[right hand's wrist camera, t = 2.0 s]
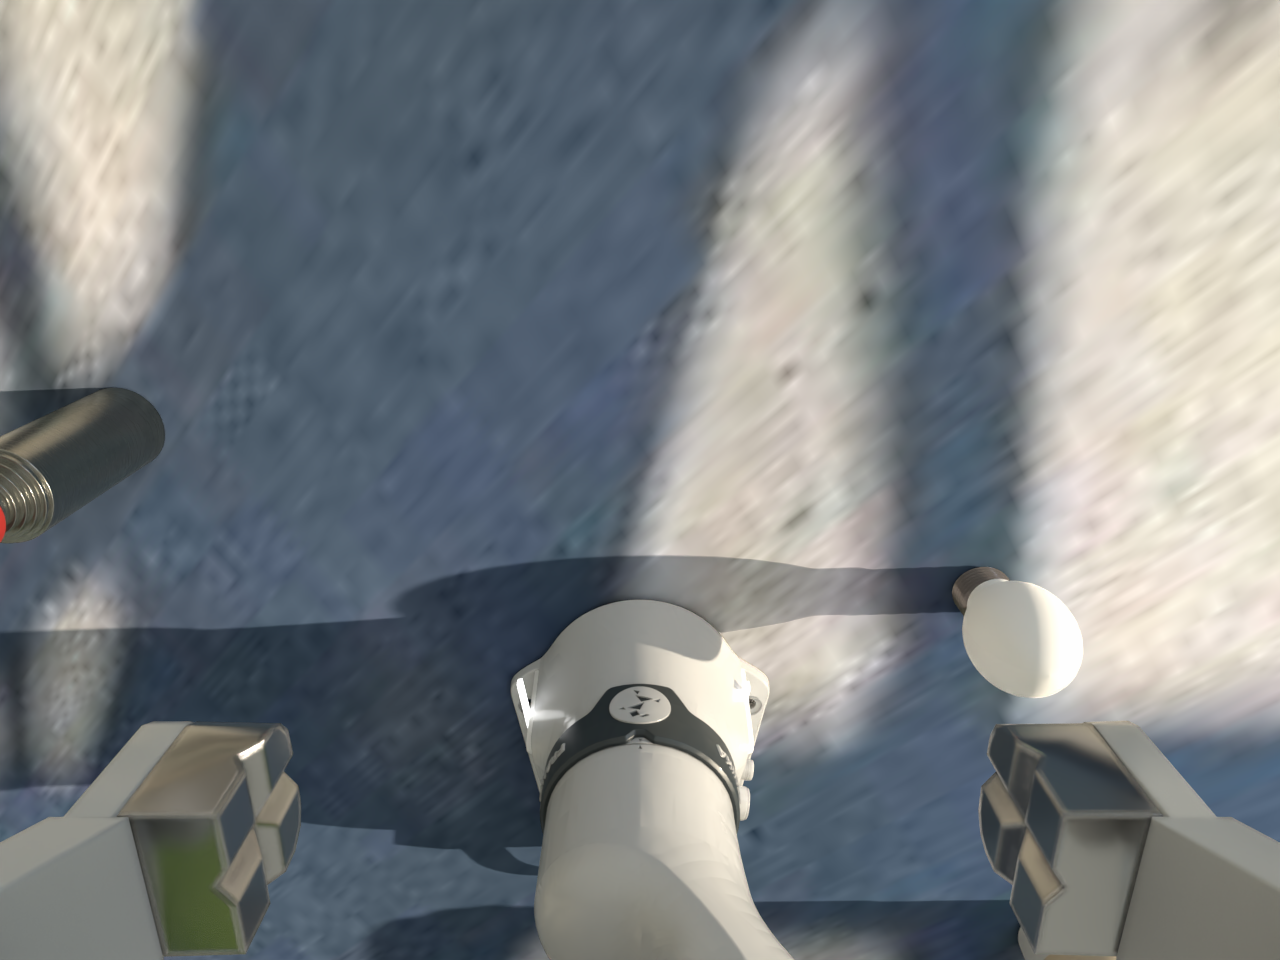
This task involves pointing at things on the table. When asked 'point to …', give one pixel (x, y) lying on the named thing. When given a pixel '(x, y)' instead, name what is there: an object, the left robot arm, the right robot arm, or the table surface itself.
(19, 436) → the bottle
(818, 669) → the table surface
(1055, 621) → the light bulb
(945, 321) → the table surface
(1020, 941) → the coffee cup
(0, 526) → the cap
